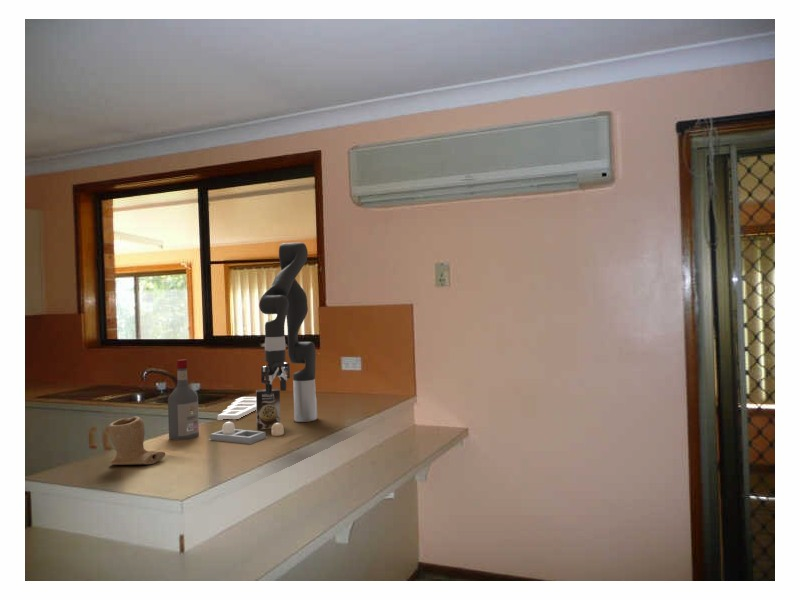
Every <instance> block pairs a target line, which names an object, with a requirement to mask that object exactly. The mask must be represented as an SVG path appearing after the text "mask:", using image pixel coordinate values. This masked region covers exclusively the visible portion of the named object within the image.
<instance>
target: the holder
mask: <svg viewBox="0 0 800 600" xmlns="http://www.w3.org/2000/svg"><path fill="white" fill-rule="evenodd" d="M255 410H256V396H241V397H238V398H236V399H234V401H233V402H231V403H230V405H228V406H227V407H226V409H224V410H222V412H221V413H220V414H217V421H224V420H223V419H239V418H241V417H243V416H245V415H247V414H249V413H251V412H253V411H255ZM255 412H256V411H255ZM253 413H254V412H253ZM251 414H252V413H251ZM249 415H250V414H249ZM247 416H248V415H247ZM245 417H246V416H245ZM243 418H244V417H243ZM241 419H242V418H241ZM239 420H240V419H239Z"/></svg>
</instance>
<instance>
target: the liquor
mask: <svg viewBox="0 0 800 600" xmlns="http://www.w3.org/2000/svg"><path fill="white" fill-rule="evenodd" d="M176 369H177V371H176V374H177V375H176V376H177V382H176V387H175V388H174V389H173V390H172V392H171V393H170V394H169V395H168V398H167V413H168V414H167V415H168V417H167V418H168V440H176V441H185V440H189V439H194V438H197V437H199V435H200V425H199V422H200V421H199V396H198V393H197V392H196V391H195V390H194V389H193V388H192V387H191V386H190V385H189V382H188V381H189V380H188V359H176Z"/></svg>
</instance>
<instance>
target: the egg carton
mask: <svg viewBox="0 0 800 600" xmlns="http://www.w3.org/2000/svg"><path fill="white" fill-rule="evenodd" d="M265 439H268V436H266V431H260V430H251V429H247V430H246V429H237V428H235V433H234V434H231V435H226V434H222V429H221V430H219V431H218V430H217V431H216V432H213V433H210V438H209V439H208V440H209V441H214V442H215V441H216V442H227V443H235V444H236V443H237V444H247V445H252V444H254V443H256V442H259V441H262V440H265Z"/></svg>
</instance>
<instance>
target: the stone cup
mask: <svg viewBox="0 0 800 600" xmlns="http://www.w3.org/2000/svg"><path fill="white" fill-rule="evenodd" d="M107 432H108V435H109V438H110V441H111V443H112V445H113V447H114V449H115V452H116V455H115V456H114V457H113V458H112V459H110V461H109V463H110V464H111V465H115V466H116V465H117V466H118V465H119V466H127V465H128V466H130V465H131V466H133V465H136V466H137V465H142V466H143V465H153V464H156V463H158V462H160V461H161V460H162V459H163V458H164V457H165V456H166V452H165V451H151V450H150V451H149V450H146V449H145V448H144V440H145V433H146V431H145V423H144V421H143V419H142V417H139V416H136V415H135V416H132V417H130V418H129V417H124V418H120V419H117V420H115V421H113V422H111V423H109V425H108V428H107Z"/></svg>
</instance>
